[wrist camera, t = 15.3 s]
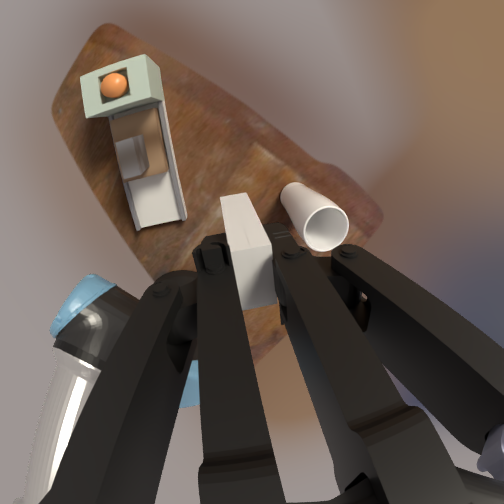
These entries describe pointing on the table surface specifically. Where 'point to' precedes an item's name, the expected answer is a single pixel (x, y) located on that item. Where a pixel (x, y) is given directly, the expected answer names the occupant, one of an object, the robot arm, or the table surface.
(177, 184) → the track
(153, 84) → the end cabinet
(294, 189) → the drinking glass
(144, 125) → the carriage
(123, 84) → the button
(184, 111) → the table surface
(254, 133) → the table surface
